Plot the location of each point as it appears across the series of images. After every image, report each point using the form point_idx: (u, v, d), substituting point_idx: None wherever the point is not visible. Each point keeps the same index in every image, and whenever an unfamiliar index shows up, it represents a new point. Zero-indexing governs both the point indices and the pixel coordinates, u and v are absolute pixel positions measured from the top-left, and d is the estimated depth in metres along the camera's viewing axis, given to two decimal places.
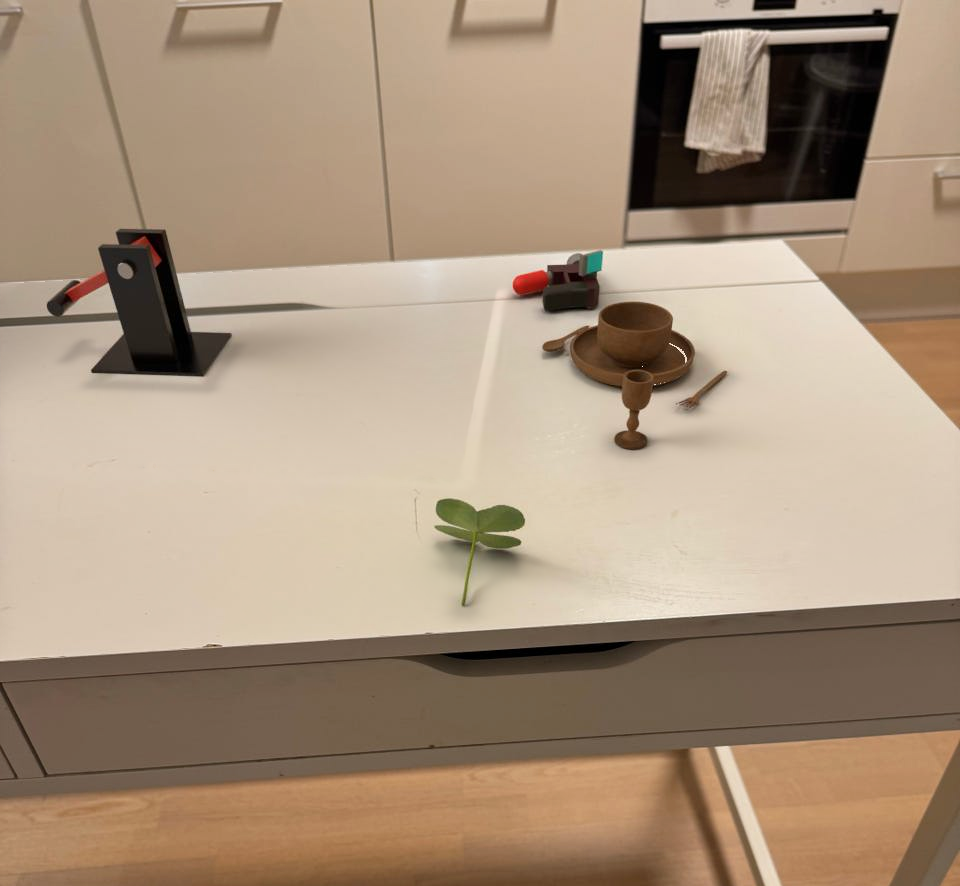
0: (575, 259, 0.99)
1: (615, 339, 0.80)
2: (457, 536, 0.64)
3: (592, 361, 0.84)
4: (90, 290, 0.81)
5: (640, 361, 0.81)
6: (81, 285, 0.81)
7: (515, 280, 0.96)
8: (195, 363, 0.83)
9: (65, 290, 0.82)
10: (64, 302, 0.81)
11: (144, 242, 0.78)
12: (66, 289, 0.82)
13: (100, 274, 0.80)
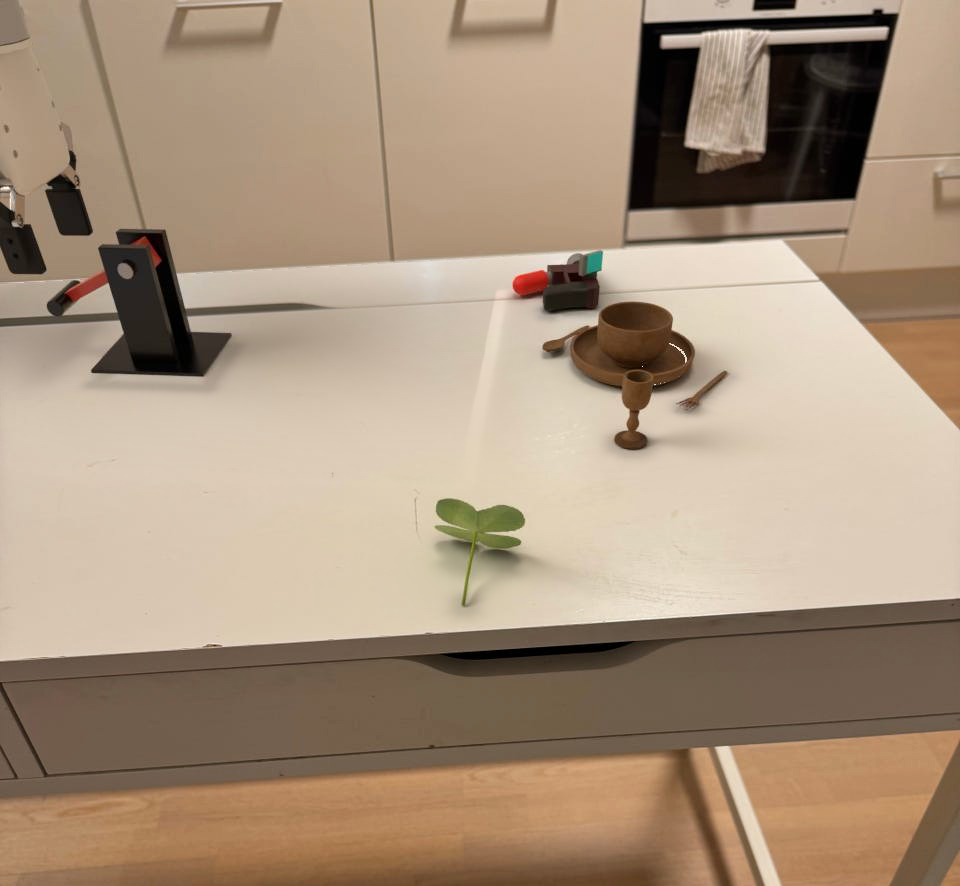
0: (575, 258, 0.99)
1: (615, 339, 0.80)
2: (457, 536, 0.64)
3: (592, 361, 0.84)
4: (90, 290, 0.81)
5: (640, 361, 0.81)
6: (81, 285, 0.81)
7: (515, 280, 0.96)
8: (195, 363, 0.83)
9: (65, 290, 0.82)
10: (64, 302, 0.81)
11: (144, 242, 0.78)
12: (66, 289, 0.82)
13: (100, 274, 0.80)
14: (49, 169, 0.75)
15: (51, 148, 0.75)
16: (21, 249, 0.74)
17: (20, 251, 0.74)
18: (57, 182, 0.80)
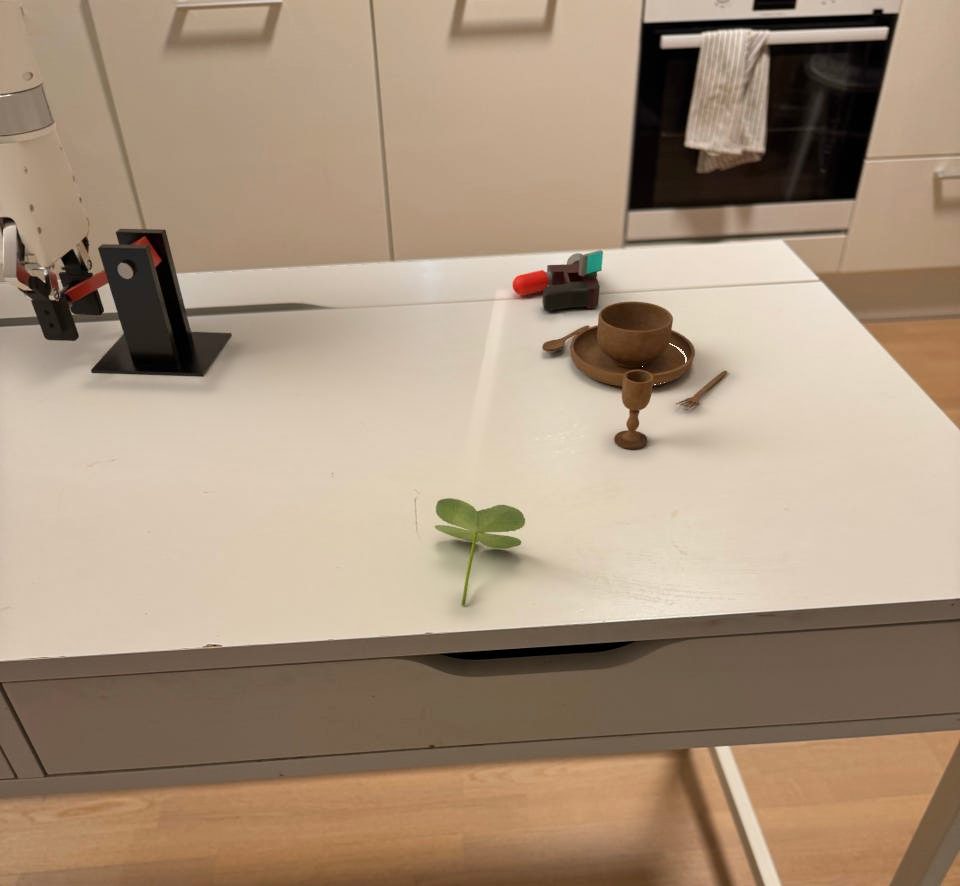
0: (575, 258, 0.99)
1: (615, 339, 0.80)
2: (457, 536, 0.64)
3: (592, 361, 0.84)
4: (90, 290, 0.81)
5: (639, 361, 0.81)
6: (81, 285, 0.81)
7: (515, 280, 0.96)
8: (195, 363, 0.83)
9: (65, 290, 0.82)
10: None
11: (144, 242, 0.78)
12: (66, 289, 0.82)
13: (100, 274, 0.80)
14: (70, 240, 0.79)
15: (72, 220, 0.79)
16: (56, 319, 0.80)
17: (55, 321, 0.80)
18: (70, 263, 0.83)
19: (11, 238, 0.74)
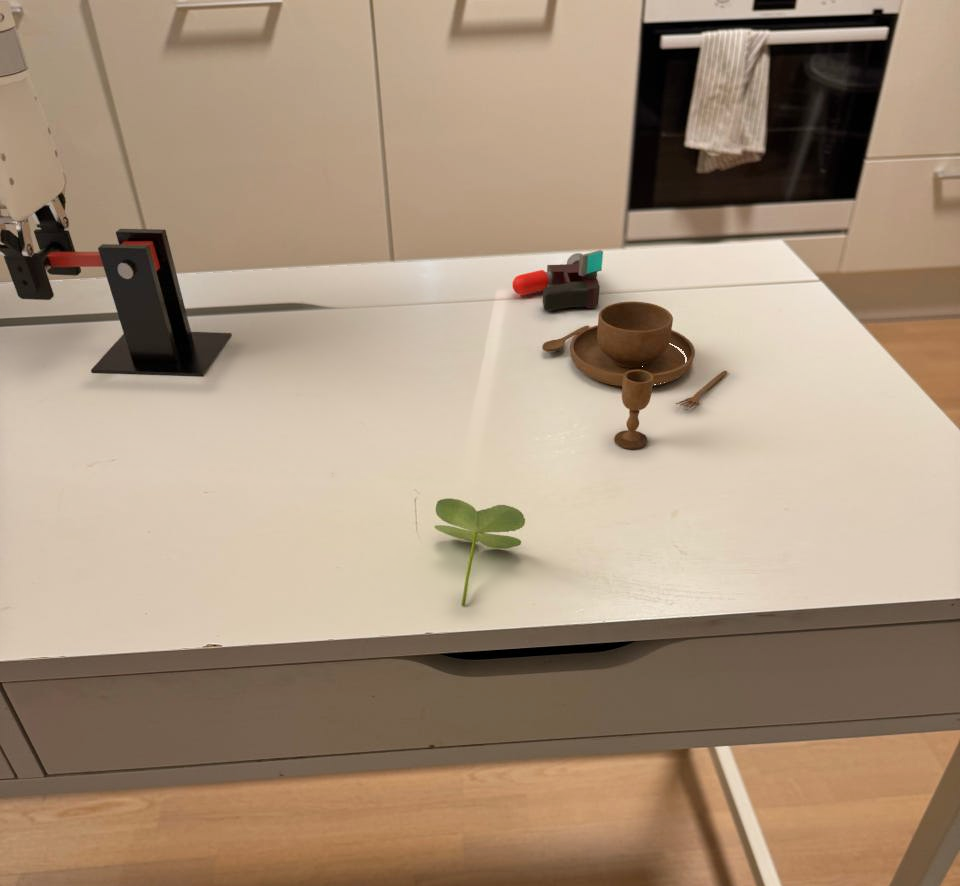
0: (575, 258, 0.99)
1: (615, 339, 0.80)
2: (457, 536, 0.64)
3: (592, 361, 0.84)
4: (75, 265, 0.80)
5: (639, 361, 0.81)
6: (67, 257, 0.79)
7: (515, 280, 0.96)
8: (195, 363, 0.83)
9: (46, 252, 0.80)
10: None
11: (151, 248, 0.79)
12: (48, 251, 0.80)
13: (92, 256, 0.79)
14: (44, 194, 0.76)
15: (46, 174, 0.76)
16: (30, 276, 0.77)
17: (29, 278, 0.77)
18: (45, 220, 0.80)
19: None
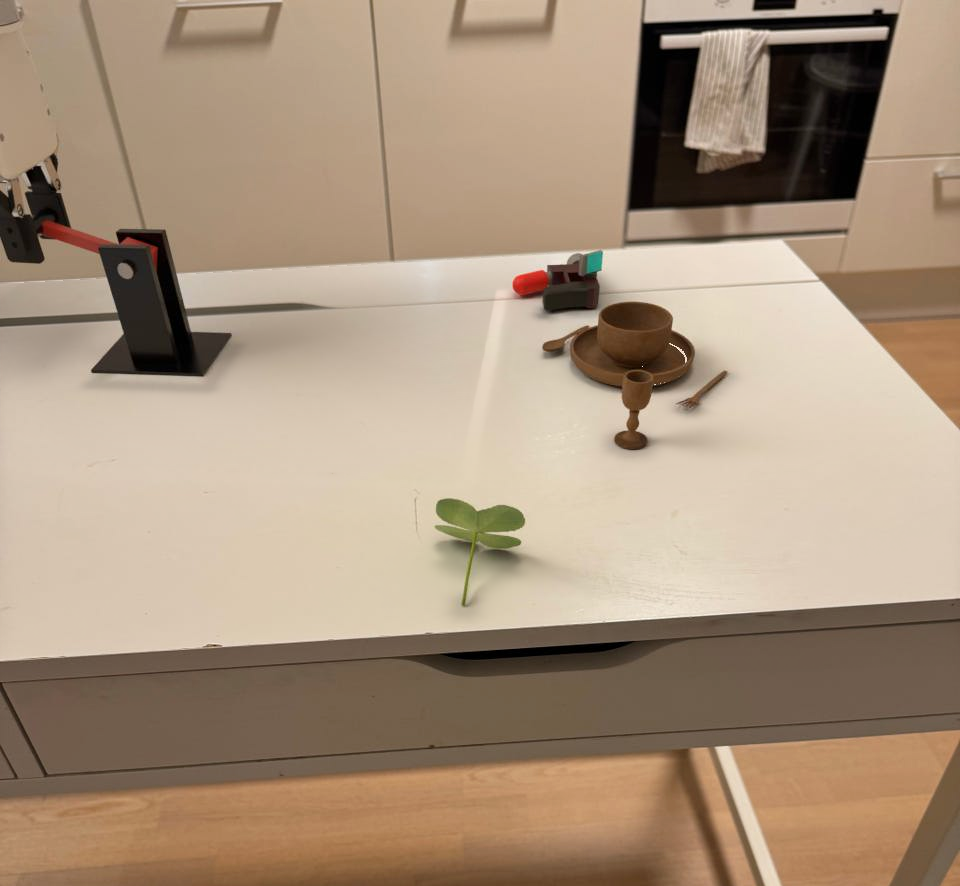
0: (575, 258, 0.99)
1: (615, 339, 0.80)
2: (457, 536, 0.64)
3: (592, 361, 0.84)
4: (69, 242, 0.78)
5: (639, 361, 0.81)
6: (64, 233, 0.78)
7: (515, 280, 0.96)
8: (195, 363, 0.83)
9: (42, 220, 0.78)
10: None
11: (154, 254, 0.79)
12: (43, 219, 0.78)
13: (91, 241, 0.78)
14: (36, 153, 0.74)
15: (38, 132, 0.74)
16: (20, 238, 0.75)
17: (19, 240, 0.75)
18: (37, 181, 0.78)
19: None
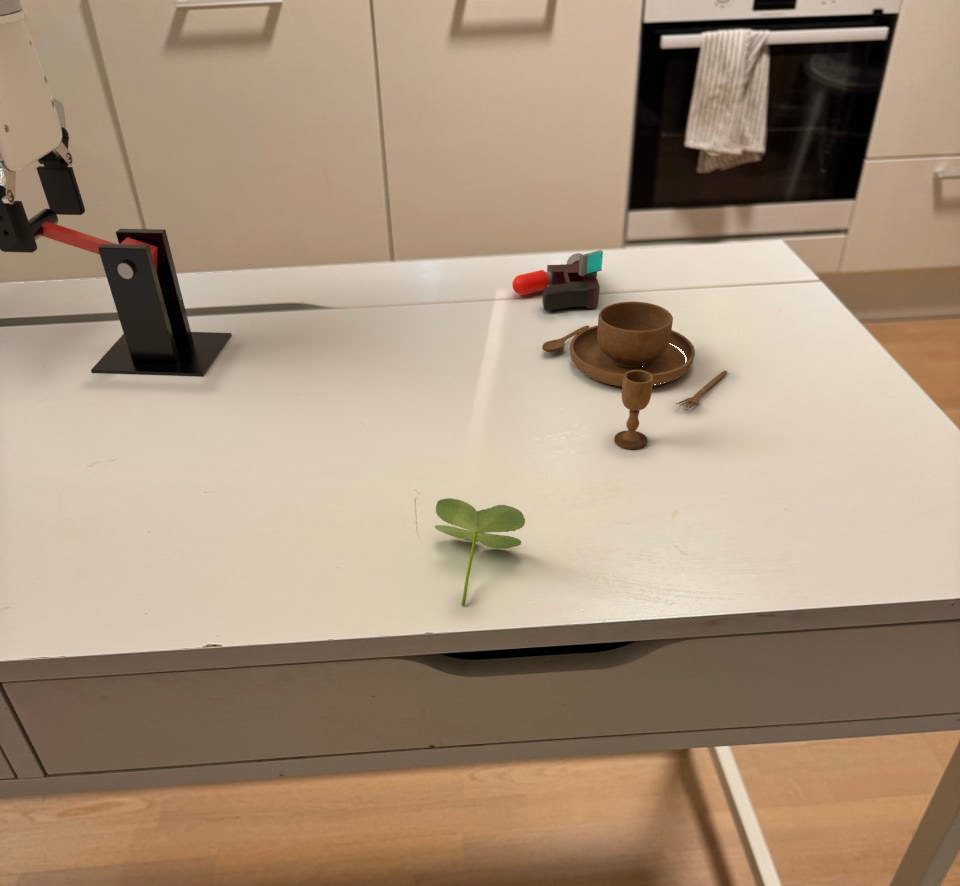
0: (575, 258, 0.99)
1: (615, 339, 0.80)
2: (457, 536, 0.64)
3: (592, 361, 0.84)
4: (69, 243, 0.78)
5: (639, 361, 0.81)
6: (64, 233, 0.78)
7: (515, 280, 0.96)
8: (195, 363, 0.83)
9: (42, 221, 0.78)
10: (36, 236, 0.77)
11: (154, 254, 0.79)
12: (43, 220, 0.78)
13: (91, 242, 0.78)
14: (41, 145, 0.73)
15: (43, 124, 0.73)
16: (11, 226, 0.72)
17: (10, 228, 0.73)
18: (49, 159, 0.79)
19: None
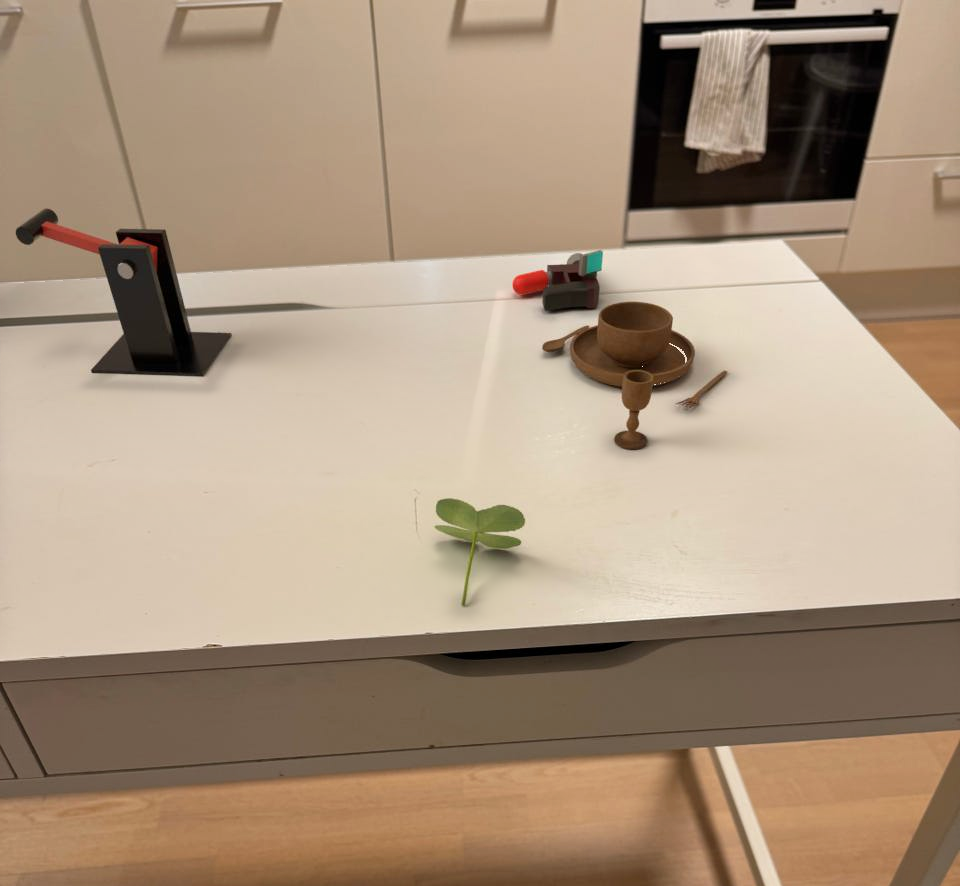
0: (575, 258, 0.99)
1: (615, 339, 0.80)
2: (457, 536, 0.64)
3: (592, 361, 0.84)
4: (69, 243, 0.78)
5: (639, 361, 0.81)
6: (64, 233, 0.78)
7: (515, 280, 0.96)
8: (195, 363, 0.83)
9: (42, 221, 0.78)
10: (36, 236, 0.77)
11: (154, 254, 0.79)
12: (43, 220, 0.78)
13: (91, 242, 0.78)
14: None
15: None
16: None
17: None
18: None
19: None
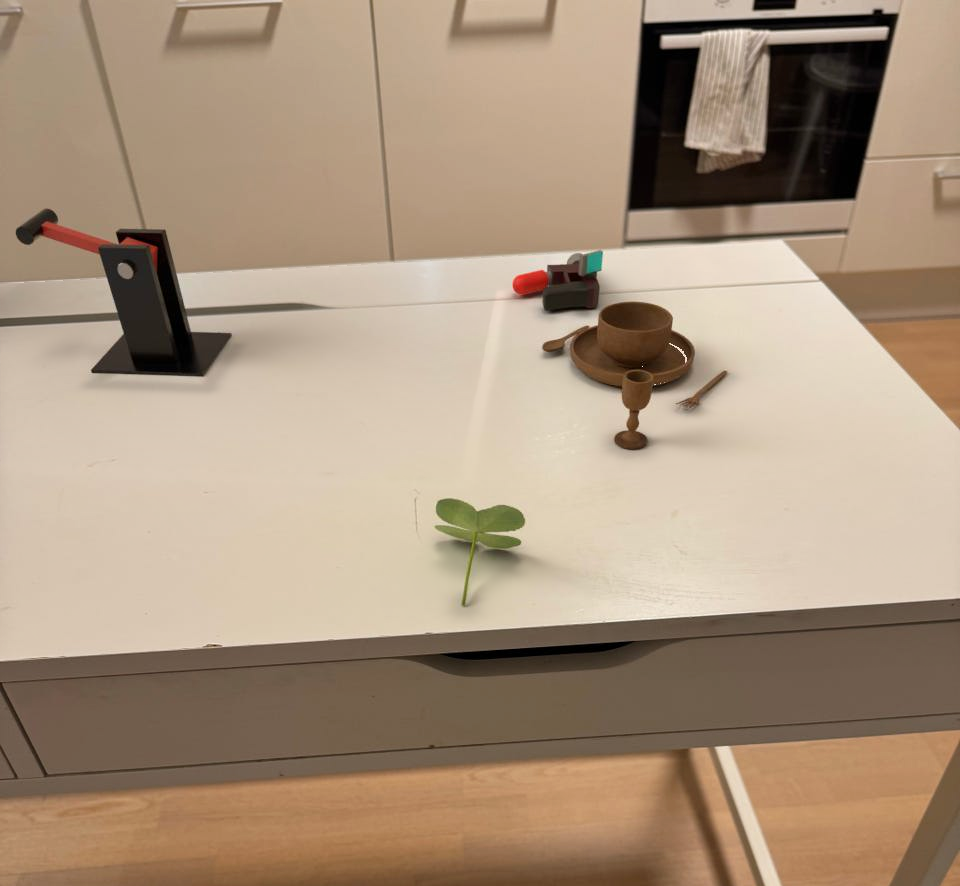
0: (575, 258, 0.99)
1: (615, 339, 0.80)
2: (457, 536, 0.64)
3: (592, 361, 0.84)
4: (69, 243, 0.78)
5: (639, 361, 0.81)
6: (64, 233, 0.78)
7: (515, 280, 0.96)
8: (195, 363, 0.83)
9: (42, 221, 0.78)
10: (36, 236, 0.77)
11: (154, 254, 0.79)
12: (43, 220, 0.78)
13: (91, 242, 0.78)
14: None
15: None
16: None
17: None
18: None
19: None
